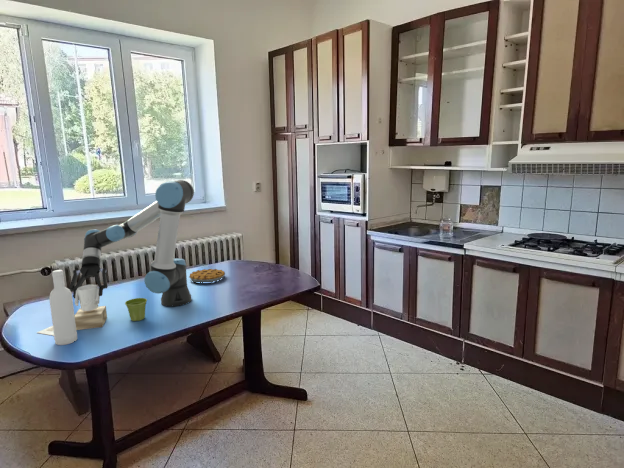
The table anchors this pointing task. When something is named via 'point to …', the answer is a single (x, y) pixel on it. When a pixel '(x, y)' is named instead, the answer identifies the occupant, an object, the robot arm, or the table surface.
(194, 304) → the table surface
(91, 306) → the white cup
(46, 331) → the page
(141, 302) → the plant pot
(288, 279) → the table surface
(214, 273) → the pie
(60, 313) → the bottle
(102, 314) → the beech block
